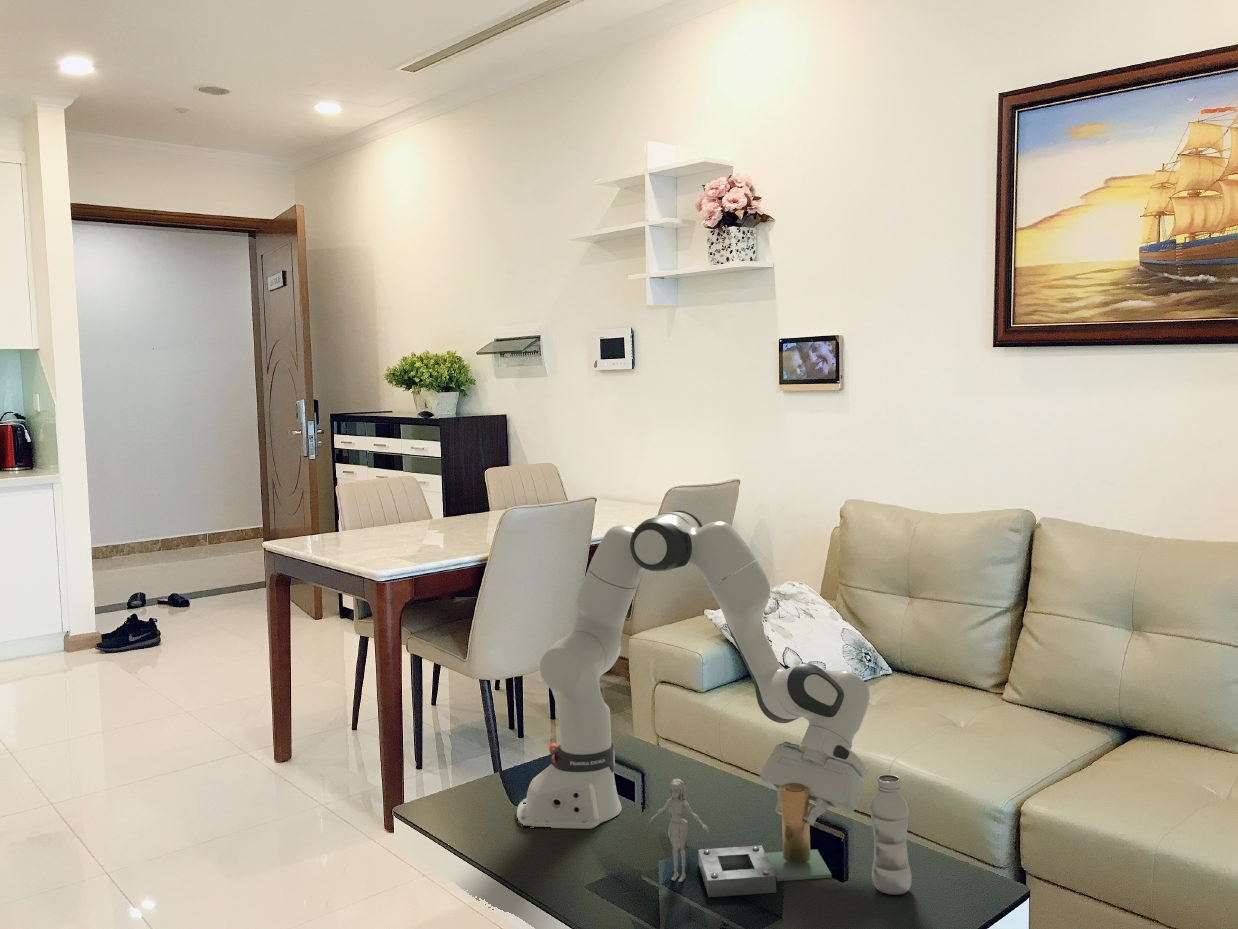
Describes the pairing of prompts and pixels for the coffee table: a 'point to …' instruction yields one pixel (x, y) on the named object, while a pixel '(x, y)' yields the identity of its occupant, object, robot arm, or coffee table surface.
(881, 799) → the plastic bottle
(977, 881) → the coffee table surface
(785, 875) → the mat
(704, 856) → the housing
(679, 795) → the human figurine
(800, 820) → the copper plug
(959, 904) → the coffee table surface
